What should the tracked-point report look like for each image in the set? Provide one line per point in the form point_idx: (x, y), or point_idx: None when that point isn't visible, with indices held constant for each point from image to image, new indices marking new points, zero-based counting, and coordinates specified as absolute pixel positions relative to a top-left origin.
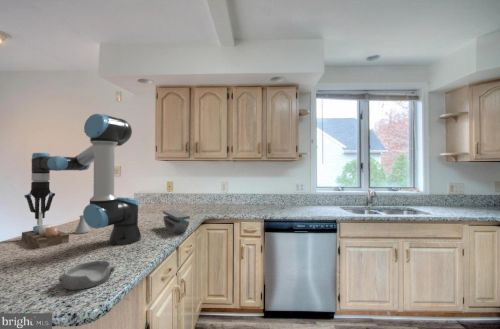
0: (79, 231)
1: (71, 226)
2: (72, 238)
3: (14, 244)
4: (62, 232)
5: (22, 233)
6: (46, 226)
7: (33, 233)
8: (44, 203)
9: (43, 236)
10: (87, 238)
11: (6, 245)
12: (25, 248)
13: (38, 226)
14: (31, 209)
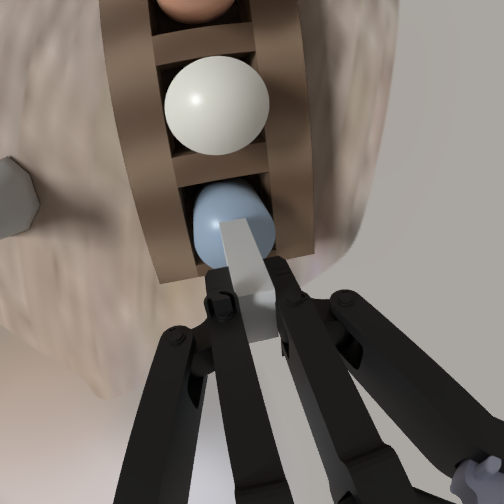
0: (12, 173)
1: (72, 362)
2: (67, 58)
3: (344, 151)
4: (107, 44)
5: (312, 240)
6: (218, 57)
7: (275, 163)
8: (237, 420)
9: (240, 24)
10: (16, 14)
11: (370, 161)
12: (324, 15)
13: None
14: (379, 313)
